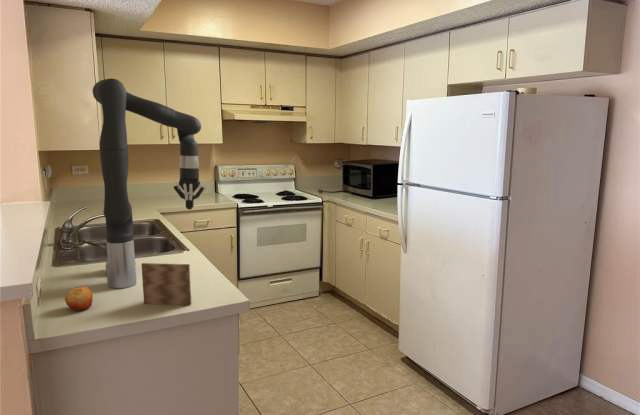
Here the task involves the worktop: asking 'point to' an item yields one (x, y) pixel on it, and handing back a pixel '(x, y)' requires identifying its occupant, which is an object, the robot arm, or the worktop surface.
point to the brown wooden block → (166, 283)
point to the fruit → (79, 298)
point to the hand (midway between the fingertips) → (189, 209)
